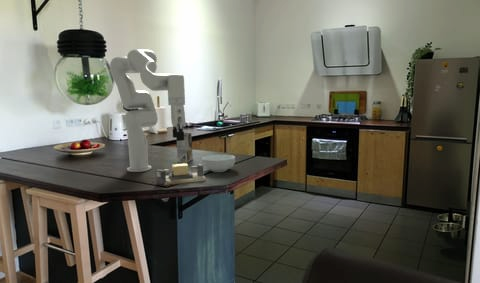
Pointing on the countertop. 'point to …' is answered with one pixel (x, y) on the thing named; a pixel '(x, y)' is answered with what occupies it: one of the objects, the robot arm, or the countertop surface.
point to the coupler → (180, 170)
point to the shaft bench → (192, 177)
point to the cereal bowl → (218, 162)
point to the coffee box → (185, 149)
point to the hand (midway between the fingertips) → (178, 138)
